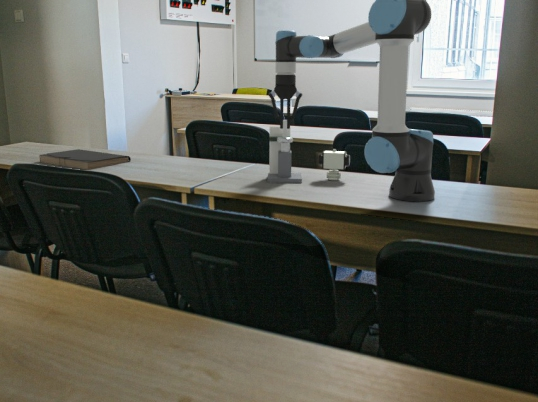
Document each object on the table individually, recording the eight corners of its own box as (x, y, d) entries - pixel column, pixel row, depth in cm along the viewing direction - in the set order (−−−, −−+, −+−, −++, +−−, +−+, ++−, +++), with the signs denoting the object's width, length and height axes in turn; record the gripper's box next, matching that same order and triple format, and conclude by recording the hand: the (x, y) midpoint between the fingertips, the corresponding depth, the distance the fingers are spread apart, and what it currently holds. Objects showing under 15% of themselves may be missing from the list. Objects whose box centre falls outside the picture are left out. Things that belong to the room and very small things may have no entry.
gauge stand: (300, 176, 229) (301, 126, 224) (301, 182, 218) (302, 129, 213) (268, 176, 229) (268, 126, 224) (267, 182, 218) (267, 129, 214)
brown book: (38, 154, 258) (82, 148, 277) (38, 163, 259) (82, 156, 278) (87, 161, 240) (130, 154, 260) (87, 171, 241) (130, 163, 261)
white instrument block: (292, 164, 226) (292, 136, 223) (292, 167, 219) (293, 139, 217) (269, 164, 226) (269, 136, 223) (268, 167, 220) (269, 138, 217)
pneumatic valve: (348, 181, 220) (349, 150, 217) (317, 180, 223) (318, 149, 220) (349, 178, 226) (350, 148, 223) (319, 177, 228) (320, 147, 225)
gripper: (302, 73, 217) (301, 136, 223) (268, 73, 218) (268, 135, 223) (303, 74, 210) (302, 138, 216) (267, 74, 210) (267, 138, 216)
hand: (284, 137), depth 220 cm, fingers closed
